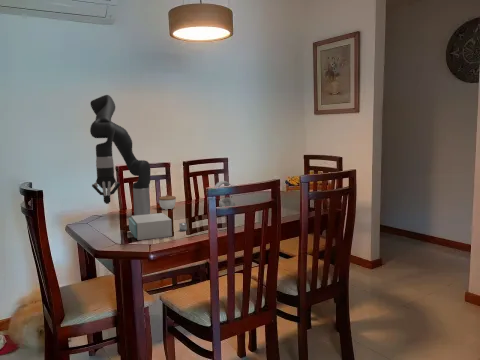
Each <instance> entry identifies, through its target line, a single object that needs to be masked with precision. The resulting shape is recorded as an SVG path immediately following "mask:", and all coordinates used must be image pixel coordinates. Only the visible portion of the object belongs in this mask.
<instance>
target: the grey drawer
mask: <svg viewBox="0 0 480 360" xmlns="http://www.w3.org/2000/svg"><path fill="white" fill-rule="evenodd" d="M128 229H129V231H130V233H131V235H132V236H133V237H134V239H137V226H136V224H135V222H134V221H133V220H132V218H131V216H130V217H128Z"/></svg>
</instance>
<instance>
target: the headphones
mask: <svg viewBox="0 0 480 360" xmlns="http://www.w3.org/2000/svg"><path fill="white" fill-rule="evenodd" d="M222 185H225V186H226V187H227V186H228V185H231V183H230V182H228V181H226V180H225V181H223V180H222V181H217V182H216V183H215V185H214V187H219V188H220V187H221V186H222ZM214 187H213V188H214ZM219 206H220V207H222V206H235V207H236V202H235V200H234V199H233V195H232V196H231V195H230V197H229V196H228V197H223V199H222V200H219Z"/></svg>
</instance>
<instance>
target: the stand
mask: <svg viewBox="0 0 480 360" xmlns="http://www.w3.org/2000/svg"><path fill="white" fill-rule="evenodd" d="M178 224H179V231H180V232H187V230H188V225H187V222H180V223H178Z"/></svg>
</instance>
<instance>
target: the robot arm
mask: <svg viewBox="0 0 480 360" xmlns="http://www.w3.org/2000/svg"><path fill="white" fill-rule="evenodd" d="M90 108H91V109H92V112H93V113H94V114H95V120H94V121H93V122H92V123H91V125H90V128H89V133H90V135H91V137H93V138H94V139H106V141H104V142H101V143H98V144H96V145H95V155H96V156H95V158H96V159H95V168H96V180H95V183H92V184H91V187H92V188H93V189H94V190H95V191H96V192H97V193H98V194H99V195H100V196H102V197H103V202H104V204H105V205H109V204H110V203H111V195H114V194H115V193H116V191H118V189H119V187H120V186H121V183H120V182H118V181H117V180H116V178H115V168H114V167H115V166H114V157H113V144H114V146H115V147H116V148H117V150H118V152H119V154H120V156H121V157H122V159H123V160H124V163H125V165H126V167H127V169H128V171H129V173H130V174H131V175H132V176H135V177H138V178H137V181H135V182H133V184H132V191H133V192H132V193H133V194H132V195H133V196H132V197H133V216H135V215H146V214H151V198H150V197H151V196H150V195H151V194H150V184H151V165H150V162H148V160H144V159H143V160H142V159H141V160H139V159H137V158H136V156H135V154H134V153H133V152H134V151H133V140H132V137H131V136H130V134H129V132H128V131H127V130H126V128H124V127H123V126H121V125H118V124H117V123H115V122H113V121H112V118H113V115H114V113H115V111H116V104H115V101H114V99H113V98H112V97H111V95H109V94H105V95H101V96H99V97H97V98H94V99H92V100H90ZM113 186H114V187H113ZM98 187H100V188H101V189H102V191H101V190H100V189H99V188H98ZM112 187H113V188H112ZM111 188H112V190H111Z"/></svg>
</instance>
